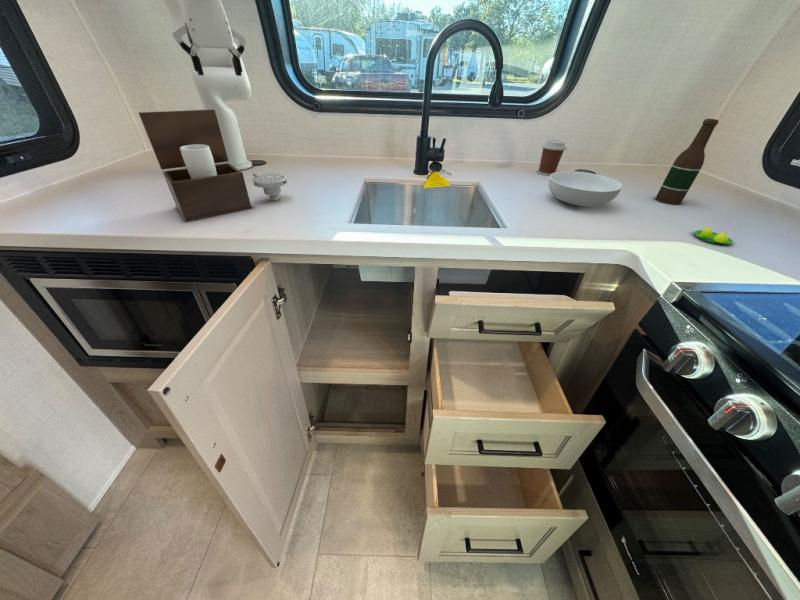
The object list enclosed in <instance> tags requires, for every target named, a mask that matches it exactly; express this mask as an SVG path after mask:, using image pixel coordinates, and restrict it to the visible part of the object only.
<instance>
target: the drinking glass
mask: <svg viewBox="0 0 800 600" xmlns="http://www.w3.org/2000/svg"><path fill="white" fill-rule="evenodd" d="M180 151H181V154H182V158H183V160H184V163H185V166H186V167H185V168H187V170H188V172H189V175H190V177H191V179H195V178H202V177H209V176H216V175H217V172H216V167H215V165H216V163H214V159H213V156H212V153H211V150H210V147H209V146H208V145H201V144H196V145H186V146H182V147H180Z"/></svg>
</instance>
